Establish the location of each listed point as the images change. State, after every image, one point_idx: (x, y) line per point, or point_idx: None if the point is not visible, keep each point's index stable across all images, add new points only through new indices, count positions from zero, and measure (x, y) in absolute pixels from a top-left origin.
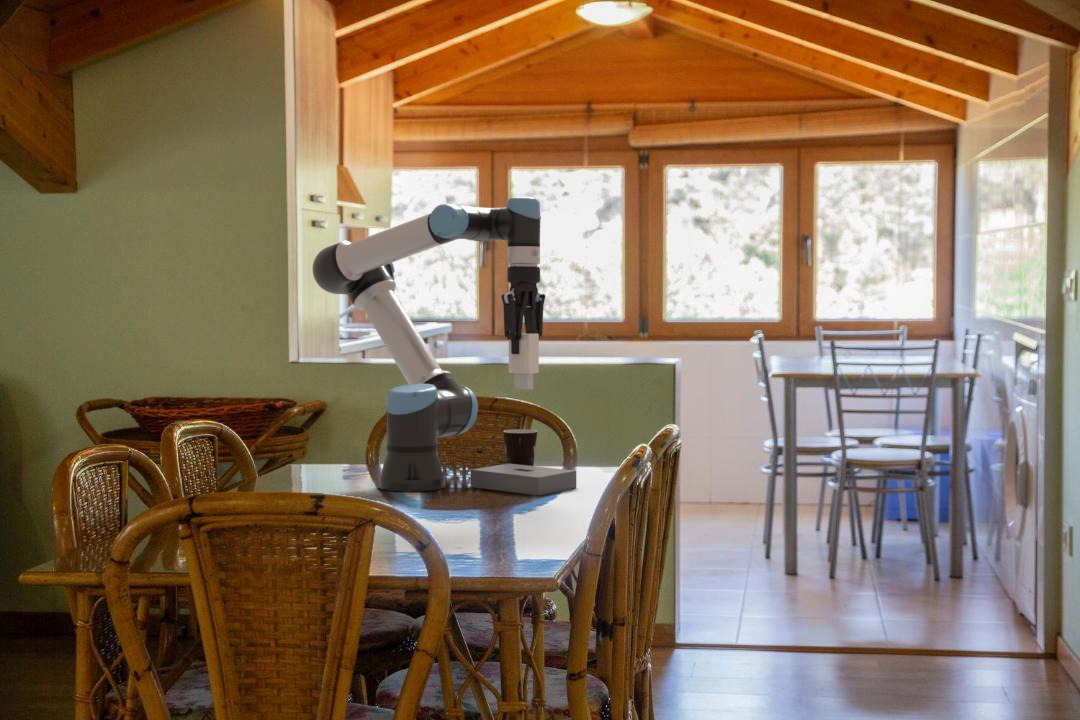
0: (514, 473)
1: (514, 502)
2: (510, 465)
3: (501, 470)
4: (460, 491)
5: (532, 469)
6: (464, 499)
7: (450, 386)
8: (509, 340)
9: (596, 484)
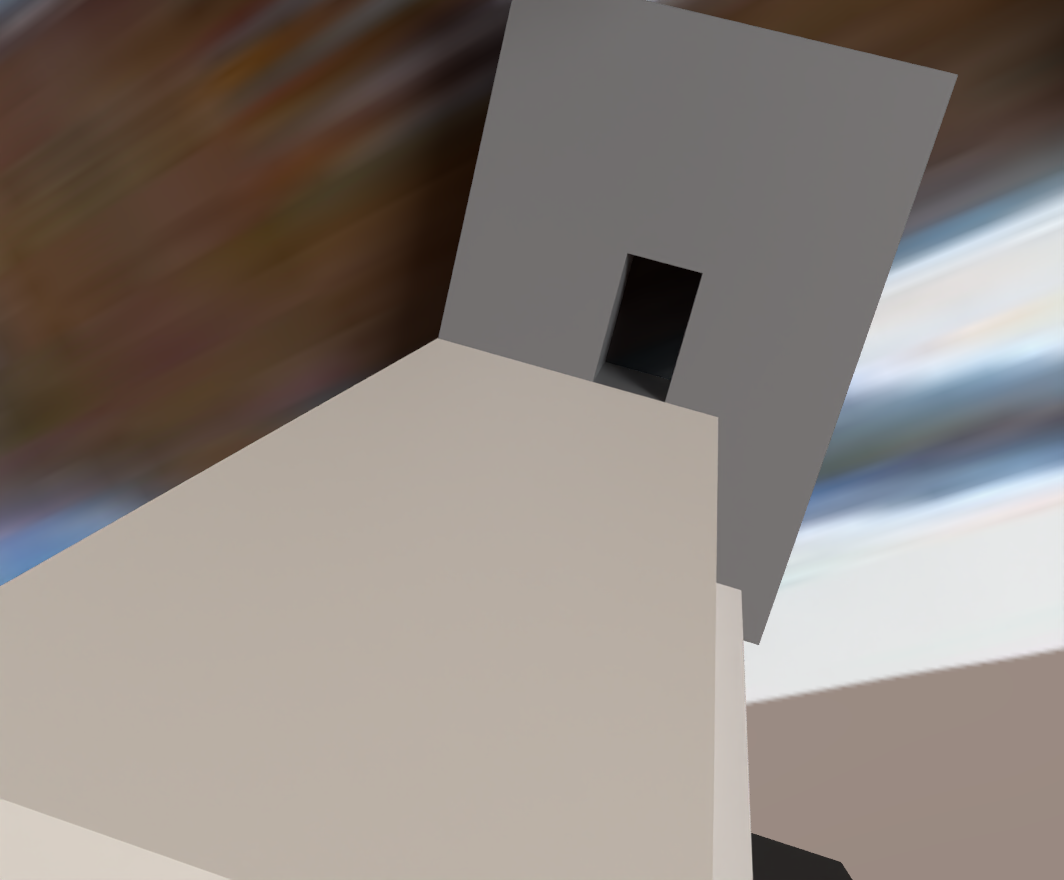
0: (482, 337)
1: (185, 467)
2: (847, 137)
3: (574, 196)
4: (359, 24)
5: (705, 370)
6: (137, 192)
7: None
8: (44, 600)
9: (946, 660)
